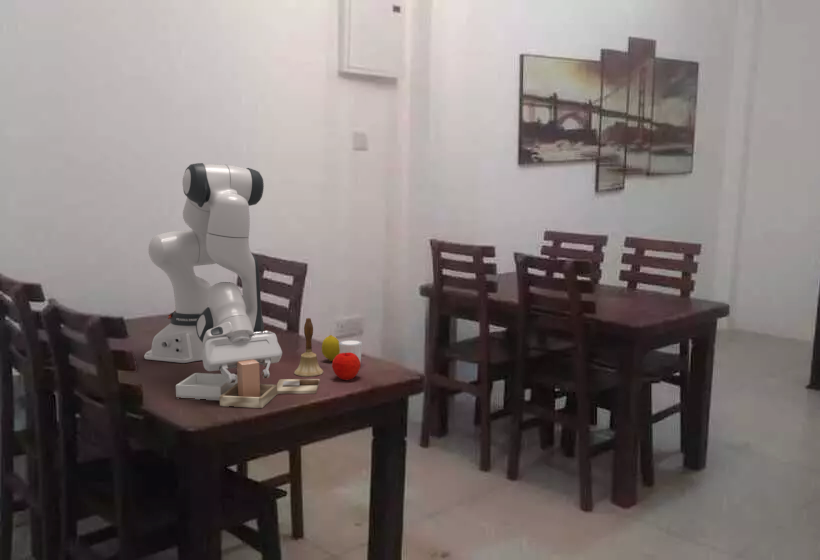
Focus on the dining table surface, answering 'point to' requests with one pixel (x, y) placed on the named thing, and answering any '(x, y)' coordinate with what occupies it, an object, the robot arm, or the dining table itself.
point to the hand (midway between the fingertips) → (249, 379)
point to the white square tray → (204, 386)
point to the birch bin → (251, 402)
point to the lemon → (330, 347)
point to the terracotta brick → (248, 378)
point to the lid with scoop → (297, 386)
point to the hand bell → (308, 355)
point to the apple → (346, 365)
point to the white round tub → (351, 347)
